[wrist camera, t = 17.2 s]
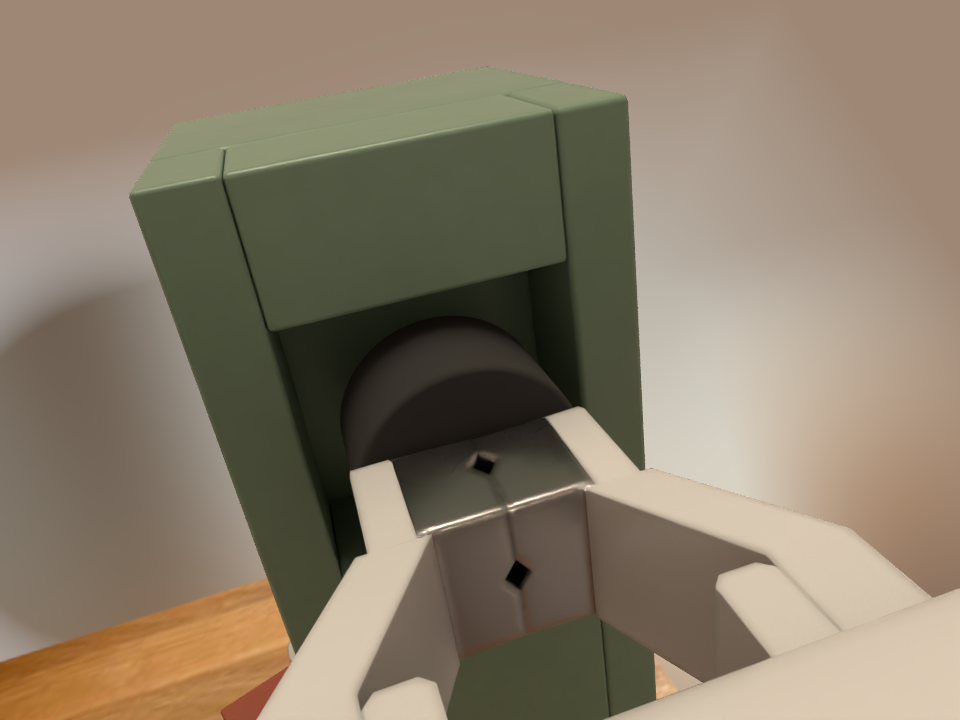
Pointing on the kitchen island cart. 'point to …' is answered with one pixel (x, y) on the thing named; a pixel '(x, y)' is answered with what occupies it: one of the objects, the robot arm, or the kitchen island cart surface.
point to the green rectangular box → (402, 312)
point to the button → (441, 389)
